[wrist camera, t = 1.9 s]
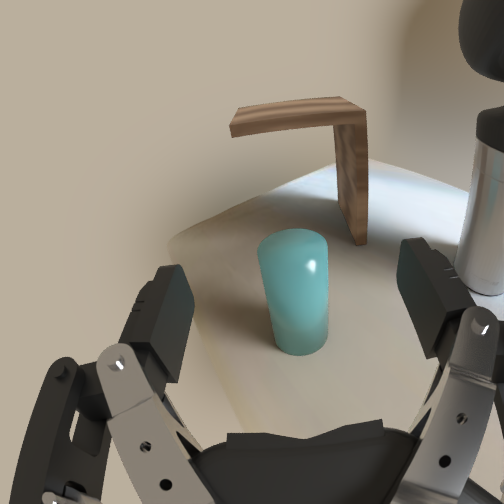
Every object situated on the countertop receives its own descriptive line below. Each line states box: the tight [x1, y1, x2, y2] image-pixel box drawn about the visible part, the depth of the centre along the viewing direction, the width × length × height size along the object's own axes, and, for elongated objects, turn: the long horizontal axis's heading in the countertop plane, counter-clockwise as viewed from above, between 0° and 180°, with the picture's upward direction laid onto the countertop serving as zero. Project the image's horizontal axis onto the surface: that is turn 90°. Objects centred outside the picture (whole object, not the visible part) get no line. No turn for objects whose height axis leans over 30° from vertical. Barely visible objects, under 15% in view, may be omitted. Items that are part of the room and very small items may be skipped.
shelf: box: [229, 97, 368, 246], centre depth 41 cm, size 13×16×18 cm
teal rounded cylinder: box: [257, 228, 328, 356], centre depth 27 cm, size 6×6×11 cm
